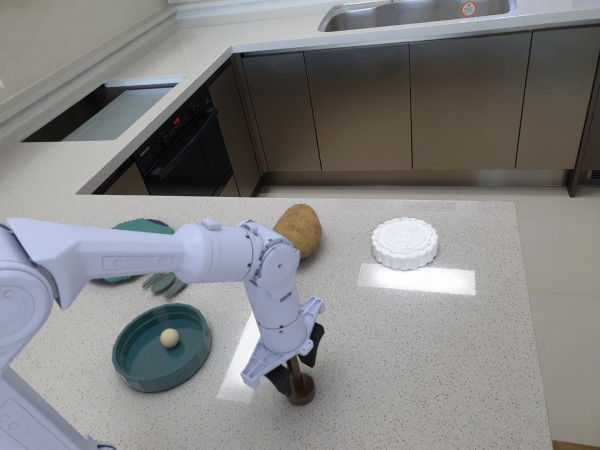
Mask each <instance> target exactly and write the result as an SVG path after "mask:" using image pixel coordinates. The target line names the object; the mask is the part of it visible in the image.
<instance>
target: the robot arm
mask: <svg viewBox="0 0 600 450" xmlns="http://www.w3.org/2000/svg"><path fill="white" fill-rule="evenodd" d="M4 220H5V221H6V223H7V224H8V225H7V224H5V223H4V222H3V221H0V450H118V448H117V446H115V444H113V443H112V442H109V441H101V440H97V439H94V438H93V437H92V436H91V434H84V435H82V433H80V432H79V431H78V430H77V429H76V428H75V427H74V426H73V425H72V424H71V423H70V422H69V421H68V420H67V419H66V418H65V417H63V416H62V414H60V413H59V412H58V411H57V409H55V408H54V407H53V406H52V405H51V404H50V403H49V402H48V401H47V400H46V399H45V398H43V397H42V395H41V394H39V392H37V391H36V389H34V388H33V386H31V385H30V384H29V383H28V382H27V381H26V380H25V379H24V378H23V377H22V376H21V375H20V374H19V373H17V372H16V371H15V370H14V369H13V368H12V367H11V366H10V365H11V364H12V363H13V361H14V360H15V359H16V358H17V357H18V356H19V354H21V352H22V351H23V350H24V349H25V348H26V347H27V346H28V344H29V343H30V342H31V341H32V340H33V339H34V337H35V336H36V335H37V334H38V333H39V332H40V331H41V329H42V327H43V326H44V325H45V324H46V322H47V321H48V319H49V318H50V316H51V313H52V310H53V306H54V301H55V302H56V304H57V305H58V307H59V308H60V310H61V311H62V312H64V311H66V310H68V309H69V308H70V307H71V306H72V304H73V303H74V301H75V300H76V298H77V297H78V296H79V295H80V293H81V292H82V291H83V289H85V286H86V285H87V283H88V282H89V281H92V280H95V279H98V278H109V277H120V276H131V275H132V276H141V275H142V276H143V275H153V274H154V273H160V274H162V273H165V274H166V273H170V272H174V274H175V277H176V278H177V280H178V279H179V280H180V281H182V282H184V283H187V284H189V285H190V284H212V283H213V284H215V283H235V282H243V286H244V288H245V293H246V295H247V298H248V301H249V305H250V307H251V310H252V314H253V316H254V319H255V320H254V321H255V323H256V326H257V328H258V332H259V335H260V336H259V338H258V340H257V342H256V344H255V346H254V349H253V351H252V352H251V355H250V358H249V360H248V362H247V364H246V365H245V366H244V368H243V370H241V372H240V377H241V379H242V382H243V383H244V384H245V385H247V386H248V387H249V388H251V389H253V390H254V391H256V390H257V389H259V387H260V386H261V381H260V380H261V378H262V377H265V378H266V379H267V380H268V381H269V382H270V383H271V384H272V385H273V386H274V387H275V389H276V391H277V392H278V393H280V394H281V395H284V396H285V397H286V396H287V397H290V396H291V394H292V387H291V384H290V376H291V373H292V370H290V369H288V367H287V366H285V365H283V364H284V363H286V361H287V360H288V359H290V358H292V357H293V356H295V355H297V358H298V360H299V361H300V363H302V364H303V365H305V366H307V367H308V368H310V369H313V368H314V367H315V366H316V361H317V355H318V349H319V345H320V342H321V340H322V339H323V336H324V335H325V333H326V331H325V328H324V326H323V324H320V323H319V322H317V321H316V320H317V318H318V315H322V314H323V313H324V312H325V311H326V305H325V302H324V299H323V298H320V297H318V296H315V295H310V297H308V298H307V299H306V300H304V302H302V303H301V300H300V297H299V292H298V287H297V283H298V281H297V275H296V273H297V269H298V267H299V265H300V251H299V250H297V249H295V248H294V245H293V243H292V242H290V240H288V239H287V238H285V237H283V236H282V235H280V234H278V233H277V232H275V231H273V228H272V229H271V228H270V227H268V226H267V225H265V224H263V223H261V222H258V221H256V220H252V219H251V218H246V219H243V220H241V221H239V222H238V223H236V225H223V224H222V225H221V222H219V221H218V220H216V219H214V218H209V217H203V218H202V219H201V222H200V223H195V222H193V223H192V222H188V223H184V224H183V225H181V226H180V227H179V228H178V229H177V230H176V231H175V233H174V234H173V235H168V234H158V233H148V232H138V231H128V230H117V229H111V228H106V227H95V226H86V225H77V224H76V225H75V224H67V223H59V222H54V221H47V220H43V219H42V220H41V219H35V218H29V217H21V216H20V217H10V218H9V217H8V218H7V217H6V218H5V219H4ZM132 276H131V277H132ZM187 284H186V285H187Z"/></svg>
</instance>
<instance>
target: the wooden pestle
mask: <svg viewBox="0 0 600 450" xmlns="http://www.w3.org/2000/svg"><path fill="white" fill-rule="evenodd" d="M285 364H286V368H288V369H290V370H292V373H291V376H290V384H291V387H292V394H291V396H290V397H287V396H285V399H286V400H287V401H288V402H289V404H291V405H293V406H296V407H297V406H298V407H301V406H305V405H307V404H310V402H312V401H313V399H314V398H315V396H316V393H317V388H316V384H315V381H314V378H313V377H312V376H311V375H310V374H308V373H306V372H302V370H301V366H300V363H299V358H298V354H296V355H295V356H293V357H292V358H290V359H288V360H287V361H285Z"/></svg>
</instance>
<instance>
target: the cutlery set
mask: <svg viewBox="0 0 600 450" xmlns="http://www.w3.org/2000/svg"><path fill="white" fill-rule="evenodd" d="M110 229H117V230H128V231H138V232H148V233H158V234H168V235H173V234H174V233H175V232H176V231H175V229H173V227H171V226H169V225H168V224H167V223H165V222H164V221H162V220H160V219H154V218H143V217H140V218H136V219H132V220H127V221H123V222H120V223H118V224H116V225H115V226H113V227H112V228H110ZM160 274H161V273H154V274H151V276H149V278H147V279H146V280H145V281H144V282H143V283H142V286H141V288H142V289H144V288H146V287H147V286H148V285H149V284H150V283H151V282H152V281H153V280H155V279H156V278H157V277H158V276H160ZM132 276H133V275H131V276H120V277H109V278H98V279H94V280H96V281H98V282H99V281H106V282H109V283H117V282H120V281H125V280H127V279H129V280H130V279H131V277H132ZM175 277H176V275H175V274H174V272H166V273H165V274H163V275H162V276H160V277H159V278H157V279H156V280H155V281H154V283H152V285H151V287H150V292H152V293H157V292H160V291H162V290H165V289H166V288H168V287H169V286H170V285H171V284H172V283H173V282H174V281H175ZM186 285H187V283H184V282H182V281H180V280H179V279H178V278H177V280H176V281H175V282H174V284H173V285H172V286H171V287H170V288H169V289H168V290H167V291H166V292H165V293H164V294H163V295H162V298H164V299H167V300H169V299H170V298H172V297H173V296H174V295H175V294H176V293H178V291H180V290H181V289H183V288H184V287H185V286H186Z"/></svg>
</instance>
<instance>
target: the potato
mask: <svg viewBox="0 0 600 450" xmlns="http://www.w3.org/2000/svg"><path fill="white" fill-rule="evenodd" d="M272 230H273V231H275V232H277V233H278V234H280V235H282V236H283V237H285V238H287V239H288V240H290V242H292V243H293V245H294V248H295V249H297V250H299V251H300V260H303V259H306V258H307V257H309V256H310V255H312V254H313V253H314V252H315V251H316V249H317V247H318V245H319V243H320V242H321V238H322V233H323V227H322V224H321V221H320V219H319V216H318V215H317V212H316V210H314V208H313V207H312V206H310V205H308V204H306V203H295V204H294V205H292V206H290V207H288V208H287V209H286V210H285V211H284V212H283V214H282V215H281V217H279V219H278V220H277V221H276V223H275V224H274V226H273V228H272ZM300 260H299V261H300Z"/></svg>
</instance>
